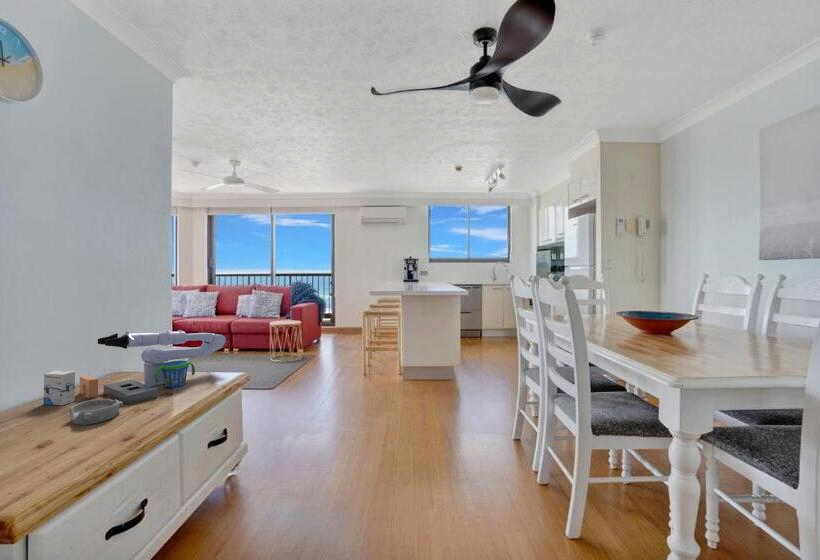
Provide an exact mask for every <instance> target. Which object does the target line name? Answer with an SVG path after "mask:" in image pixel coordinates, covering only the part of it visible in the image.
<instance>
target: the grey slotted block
mask: <svg viewBox="0 0 820 560" xmlns="http://www.w3.org/2000/svg"><path fill="white" fill-rule="evenodd" d="M142 383H143V382H139V381H136V380H134V379H127V380H123V381H118V382H112V383H108V384H103V394H104V395H106V396H108V397H111V398H112V399H114V400H118V401H119V402H120V401H122V402H123V404H126V405H133V404H137V403H141V402H147V401H149V400H153V399H157V398H158V388H156V387H154V386H151V387H150V386H148V385H145V384H142Z"/></svg>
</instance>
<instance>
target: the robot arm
mask: <svg viewBox="0 0 820 560" xmlns="http://www.w3.org/2000/svg"><path fill="white" fill-rule="evenodd" d="M187 341H188V342H189V341H202V344H201V345H200V346H197V347H183V348H172V349H171V348H170V349H155V348H153V347H150V346H158V345H159V346H160V345H161V346H165V347H166V346H168V345H180V344H185V343H186V342H187ZM226 341H227V340H226V337H225V335H224V334H217V333H212V332H198V333H197V332H196V333H192V332H191V333H186V331H184V330H182V329H178V330H177V331H171V330H167V331H166V332H164V331H155V332H140V333H135V332H134V333H130V331H129V330H126V331H125V333H123V335H121V336H119V333H118V332H116V333H113V334H111V335H107V336H104V337H99V338H97V344H98V345H104V346H107V347H115V348H122V349H125V350H126V349H128V348H137V347H149V348H146V349H144V350H143V351H142V353H141V356H140V357H141V359H142V361H144V363H143V382H141V383H142V384H145V385H148V386H150V387H155V386H160V385H164V384H165V381H164V375H163V372H162V369H160V370H159V371H158V372H157V380H158V382H156V381H155V378H154V376H155V372H156V370H157V369H158V368H159V367H160V366H161V365H162V364H163V363H166V362H170V361H176V360H182V359H191V358H193V359H194V358H195V359H196V358H204V357H208V356H210V355H212V354H213V353H215V352H216V351H219V350H221V349H223V347H224V345H225V344H226Z"/></svg>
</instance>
